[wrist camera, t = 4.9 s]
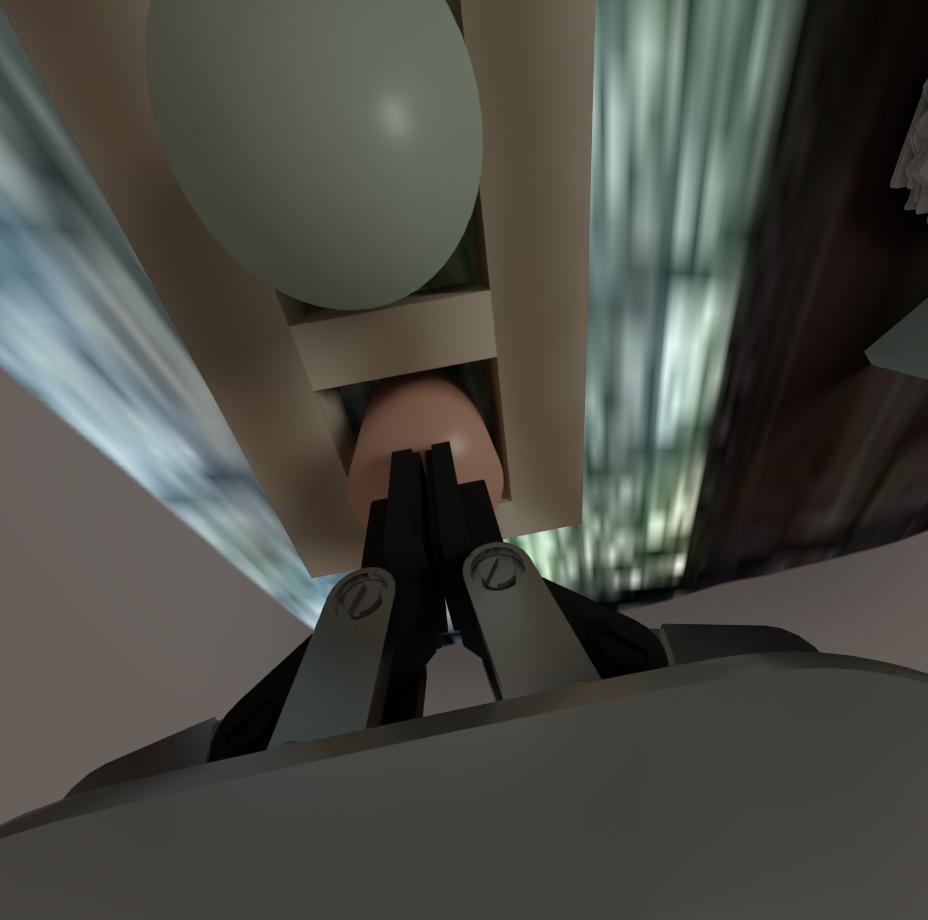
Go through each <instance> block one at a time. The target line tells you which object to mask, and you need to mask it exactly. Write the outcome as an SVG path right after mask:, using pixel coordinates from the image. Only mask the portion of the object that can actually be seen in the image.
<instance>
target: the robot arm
mask: <svg viewBox="0 0 928 920" xmlns="http://www.w3.org/2000/svg"><path fill="white" fill-rule="evenodd" d="M431 448H432V449H431V450H426V451H425V462H426V475H425V471H424V467H423V463H422V459H421V456H420V452H415V453H413V452H412V449H411V448H410V449H405V450H400V451H394V452H392V455H391V466H390V477H389V488H388V498H384V499H379V500H374V501H372V502H371V505H370V512H369V518H368V525H367V531H366V538H365V544H364V551H363V557H362V564H361V569H359V570H356V571H354V572H352V573H350V574H348V575H347V576H345V577H344V578H342V579H341V580H340V581H339V582H338V583H337V584H336V585H335V586H334V587H333V588H332V590H331V592H330V593H329V595H328V597H327V599H326V602H325V604H324V607H323V609H322V612H321V614H320V617H319V619H318V622H317V624H316V627H315V629H314V632H313V634H311V635H310V636H309V637H308V638H307V639H306V640H305V641H304V642H303V643H302V644H301V645H299V647H297V648H296V649H295V650H294V651H293V652H292V653H291V654H290V655H289V656H287V657H286V658H285V659H284V660H283V661H282V662H281V663H280V664H279V665H278V666H277V667H276V668H274V669H273V670H272V671H271V672H270V673H269V674H268V675H267V676H266V677H265V678H264V679H262V680H261V681H260V682H259V683H258V684H257V685H256V686H255V687H254V688H253V689H252V690H251V691H250V692H248V693H247V694H246V695H245V696H244V697H243V698H242V699H241V700H240V701H238V703H237V704H236V705H235V706H234V707H233V708H232V709H231V710H230V711H229V712H228V713H227V714H226V716H225V717H224V719H222V720H218V719H216V717H212V718H210V719H208V720H205V721H203V722H201V723H198V724H196V725H194V726H191V727H189V728H187V729H184V730H182V731H180V732H178V733H175V734H173V735H171V736H169V737H166V738H164V739H161V740H159V741H157V742H155V743H152V744H150V745H148V746H145V747H143V748H141V749H139V750H136V751H134V752H131V753H129V754H127V755H125V756H122V757H120V758H118V759H115V760H113V761H111V762H108V763H106V764H104V765H103V766H101V767H99V768H98V769H96V770H94V771H93V772H91V773H89V774H88V775H87V776H86V777H84V778H83V779H82V780H81V781H80V782H79V783H77V784H76V785H75V786H74V787H73V788H72V789H71V790H70V791H69V792H68V793H67V795H66V796H65V797H64V798H63V799H62V800H60V801H57V802H54V803H52V804H49V805H46V806H43V807H41V808H38V809H35V810H33V811H30V812H27V813H25V814H22V815H20V816H18V817H16V818H14V819H11V820H9V821H7V822H5V823H2V824H0V920H928V674H927V673H924V672H921V671H917V670H914V669H911V668H907V667H903V666H899V665H895V664H891V663H887V662H882V661H877V660H871V659H866V658H860V657H855V656H849V655H840V654H831V653H822V652H819V651H818V650H817V649H816V648H815V647H814V646H813V645H811V644H810V643H808V642H807V641H806V640H804V639H803V638H801V637H800V636H798V635H796V634H794V633H791V632H789V631H786V630H784V629H782V628H776V627H770V626H755V625H753V626H752V625H705V624H704V625H703V624H662V625H661V629H648V628H647V627H646V626H644V625H642V624H641V623H639V622H637V621H636V620H634V619H631V618H629V617H627V616H625V615H623V614H621V613H619V612H617V611H614V610H612V609H610V608H608V607H606V606H604V605H601V604H599V603H597V602H595V601H593V600H591V599H588V598H586V597H584V596H582V595H580V594H578V593H575V592H573V591H571V590H569V589H567V588H565V587H562V586H560V585H558V584H556V583H554V582H552V581H549V580H547V579H545V578H543V577H541V576H540V574H539V572H538V571H537V569H536V567H535V565H534V564H533V562H532V560H531V559H530V557H529V556H528V555H527V553H526V552H525V551H524V550H523V549H521V548H519V547H518V546H516V545H513V544H510V543H506V542H503V539H502V536H501V532H500V529H499V526H498V522H497V519H496V516H495V512H494V509H493V506H492V502H491V499H490V496H489V493H488V489H487V486H486V483H485V480H484V479H482V480H477V481H472V482H467V483H462V484H458V482H457V477H456V471H455V466H454V461H453V456H452V451H451V446H450V441H447V442H441V443H436V444H431ZM426 478H427V480H426ZM445 599H446V602H447V606H448V610H449V613H450V617H451V621H452V624H453V628H454V631H458V630H460V634H461V638H462V642H463V645H464V647H466V648H467V649H469V650H470V651H472V652H473V653H475V654H476V655H478V656H479V657H481V658H482V663H483V666H484V670H485V673H486V676H487V678H488V682H489V685H490V688H491V691H492V694H493V697H494V700H495V702H492V703H487V704H482V705H478V706H473V707H468V708H463V709H459V710H454V711H449V712H444V713H440V714H435V715H430V716H425V717H423V710H424V700H425V691H426V682H427V667H426V664H427V663H428V662H429V660H430V659H431V658H432V657H433V655H434V654H435V653H436V649H439V648H441V634H443V633H448V624H447V614H446V603H445Z"/></svg>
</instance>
